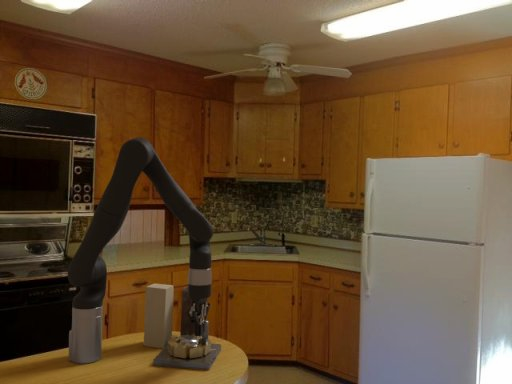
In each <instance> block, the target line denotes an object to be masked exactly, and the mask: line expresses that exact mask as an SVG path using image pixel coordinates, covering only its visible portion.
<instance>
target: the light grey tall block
mask: <svg viewBox="0 0 512 384" xmlns="http://www.w3.org/2000/svg"><path fill="white" fill-rule="evenodd" d="M174 291H175V289H174V285H173V284H164V283H163V284H162V283H152V284H150V285H147V286H146V287H145V296H144V297H145V300H144V302H145V303H144V304H145V305H144V323H143V324H144V326H143V327H144V328H143V346H145V347H148V348H149V347H150V348H157V349H164V348H165V347H166V346H167V345H168V340H170V339H171V336H172V335H173V319H174V318H173V315H174V312H173V311H174Z"/></svg>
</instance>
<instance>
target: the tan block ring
mask: <svg viewBox="0 0 512 384" xmlns="http://www.w3.org/2000/svg"><path fill="white" fill-rule="evenodd" d="M209 321H210V320H207V319H206V320H204V323H203V334H202V335H201V336H200V337H199V336H195V335H194V333H193V335H191V336H192V337H197V338H198V339H199V341H198V345H194V346H185V344H186V342H180V339H181V338H183V337H188V336H190V335H181V336H180V335H177V334H172V336H171V339H170V340H168V346H167V351H168V352H169V354H170V355H174V357H180V358H187V357H189V358H196V357H202V355H206V354H208V353H209V352H210V351H211V343H212V340H210V338H209V332H210V331H209V327H210V326H209V323H210V322H209Z"/></svg>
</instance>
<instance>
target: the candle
mask: <svg viewBox="0 0 512 384" xmlns="http://www.w3.org/2000/svg"><path fill="white" fill-rule="evenodd" d="M181 292H182V293H181V294H182V295H181V312H180V313H181V314H180V317H181V318H180V319H181V320H180V331H179V333H180V334H179V336H181V335H190V336H191V335H193V333H194V330H195V324H191V322H190V319H189V317H188V314H187V311H188V310H191V302H192V299H191V298H190V297H188V286H183V287H182V291H181Z"/></svg>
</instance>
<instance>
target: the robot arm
mask: <svg viewBox="0 0 512 384" xmlns="http://www.w3.org/2000/svg"><path fill="white" fill-rule="evenodd" d="M115 163H116V164H115V165H114V170H113V173H112V175H111V178H110V180H109V182H108V184H107V185H106V188H105V189H104V192H103V194H102V195H101V197H100V199H99V201H98V203H97V205H96V208H95V211H94V213H93V215H92V219H91V222H89V223H90V224H89V225H88V228H87V230H86V232H85V234H84V237H83V239H82V241H81V243H80V245H79V247H78V249H77V250H76V252H75V254H74V255H73V257H72V259H71V261H70V263H69V264H68V269H67V280H68V282H69V284H71V285H72V287H75V288H80V290H79V292H77V294H76V295H75V296H74V297H73V298H72V305H71V306H72V310H71V312H72V313H71V316H72V319H71V329H70V330H69V331H68V332H69V333H68V361H71V362H72V363H74V364H75V363H76V364H91V363H94V362H95V363H96V362H97V361H99V360H101V359H102V351H103V349H102V348H103V347H102V346H103V339H102V338H103V308H104V307H103V303H104V300H105V299H104V298H105V296H106V293H107V292H106V291H107V280H108V279H107V278H108V274H107V273H108V271H107V265H106V262H105V261H106V260H105V259H104V258H103V257H102V256H100V254H101V253H102V251H103V250H104V248H105V247H106V246H107V245H108V244H109V242H110V241H112V239H114V237H115V236H116V235H117V234H118V233H119V231H120V229H121V228H122V226H123V224H124V222H125V220H126V217H127V215H128V212H129V209H130V206H131V203H132V202H131V201H132V198H133V197H132V196H133V192H134V188H135V186H136V184H137V181H138V179H139V177H140V176H141V174H142V173H143V174H144V175H146V177H147V179H149V181H150V182H151V183H152V185H153V186H154V188H155V190H156V191H157V193H158V195H159V197H160V198H161V200H162V202H163V203H164V205H165V206H166V207H167V209H168V210H169V211H170V212H171V213H172V215H173V216H174V217H175V218H176V219H177V220H178V221H179V222H180V223H181V224H182V225H183V226H184V228H185V229H186V230H187V231H186V232H188V240H189V241H188V242H189V260H188V261H189V264H188V265H189V266H188V268H189V269H188V273H187V274H188V275H187V276H188V277H187V287H188V297H190V298H191V299H192V302H191V310H188V311H187V314H188V317H189V319H190V322H191V324H195V330H194V335H195V336H199V337H200V336H201V335H202V334H203V323H204V320H207V318H208V314H209V310H210V308H211V303H210V302H208V298H211V297H212V284H213V283H212V282H213V281H212V280H213V278H212V277H213V275H212V274H213V273H212V252H211V249H210V245H211V239H212V238H213V235H214V227H213V226H212V224H211V223H210V221H209V220H208V219H207V218H206V217H205V216H204V215H203V213H201V211H200V210H198V209H197V207H196V205H195V203H193V201H192V200H191V199H190V197H188V195H187V194H186V192H184V190H183V189H182V188H181V187H180V185H179V184H178V183H177V181H175V179H174V178H173V177H172V175H171V174H170V172H168V170H167V168H166V167H165V165H164V164H163V162H162V160H161V159H160V157H159V156H158V154H157V152H156V150H155V149H154V147H153V145H152V143H151V142H150V141H149V140H147V139H146V138H143V137H133V138H131V139H128V140H126V141H125V142H124V143H123V144H122V145H121V147H120V150H119V153H118V156H117V159H116V162H115Z"/></svg>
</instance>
